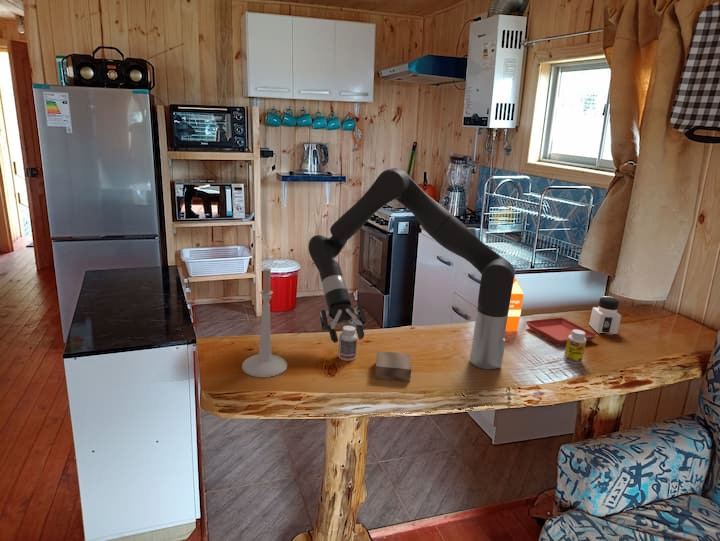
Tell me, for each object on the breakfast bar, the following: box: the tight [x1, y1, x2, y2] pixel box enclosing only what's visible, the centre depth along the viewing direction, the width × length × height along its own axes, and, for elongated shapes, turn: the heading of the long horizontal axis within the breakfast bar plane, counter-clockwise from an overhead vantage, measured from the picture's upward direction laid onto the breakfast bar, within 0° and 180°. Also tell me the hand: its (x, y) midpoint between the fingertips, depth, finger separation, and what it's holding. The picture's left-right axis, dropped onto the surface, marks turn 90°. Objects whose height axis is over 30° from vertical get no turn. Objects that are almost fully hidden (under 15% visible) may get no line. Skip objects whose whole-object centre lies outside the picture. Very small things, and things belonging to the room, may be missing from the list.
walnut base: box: [374, 350, 412, 383], centre depth 155 cm, size 10×10×4 cm
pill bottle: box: [338, 325, 358, 362], centre depth 161 cm, size 5×5×10 cm
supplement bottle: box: [563, 329, 587, 365], centre depth 171 cm, size 6×6×10 cm
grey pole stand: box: [241, 267, 288, 378], centre depth 148 cm, size 13×13×30 cm
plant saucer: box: [525, 316, 598, 346], centre depth 192 cm, size 18×18×3 cm
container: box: [588, 295, 622, 335], centre depth 198 cm, size 8×8×13 cm
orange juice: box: [505, 277, 525, 332], centre depth 193 cm, size 8×9×20 cm
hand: (348, 340), depth 160 cm, fingers open, 8 cm apart
